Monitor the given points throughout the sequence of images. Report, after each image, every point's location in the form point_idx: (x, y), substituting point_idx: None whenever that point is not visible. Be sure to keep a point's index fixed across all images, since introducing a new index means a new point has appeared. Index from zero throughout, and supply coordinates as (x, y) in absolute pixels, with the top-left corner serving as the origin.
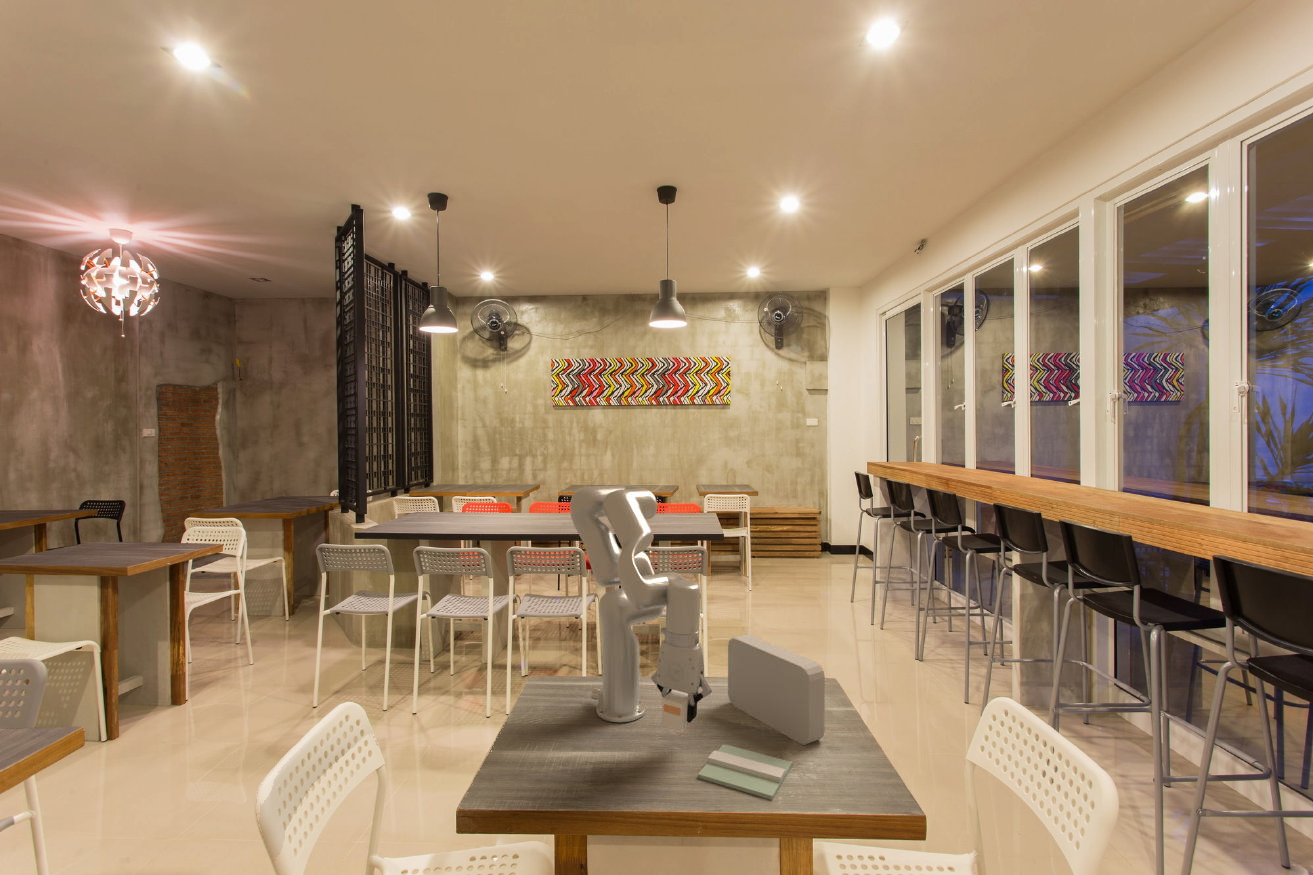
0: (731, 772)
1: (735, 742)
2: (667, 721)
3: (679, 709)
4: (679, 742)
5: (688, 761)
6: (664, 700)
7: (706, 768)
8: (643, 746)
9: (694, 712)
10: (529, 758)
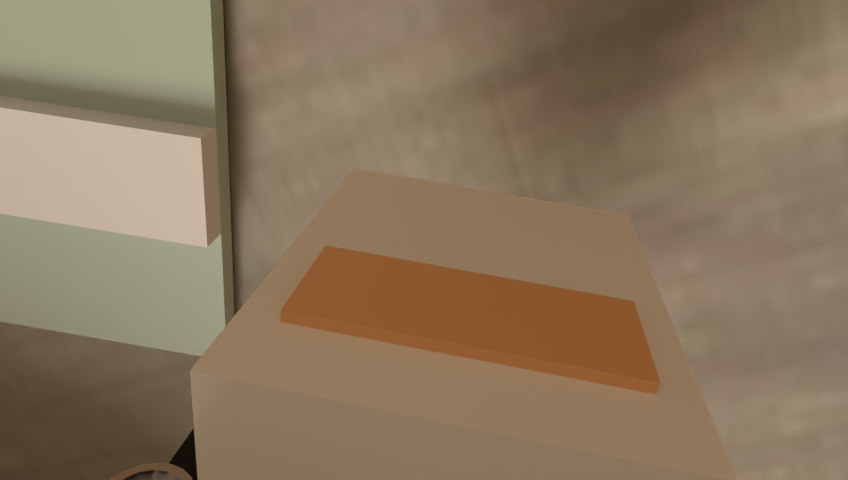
0: (18, 54)
1: None
2: (550, 230)
3: (303, 304)
4: None
5: (371, 129)
6: (668, 450)
7: (186, 36)
8: (757, 215)
9: None
10: None
